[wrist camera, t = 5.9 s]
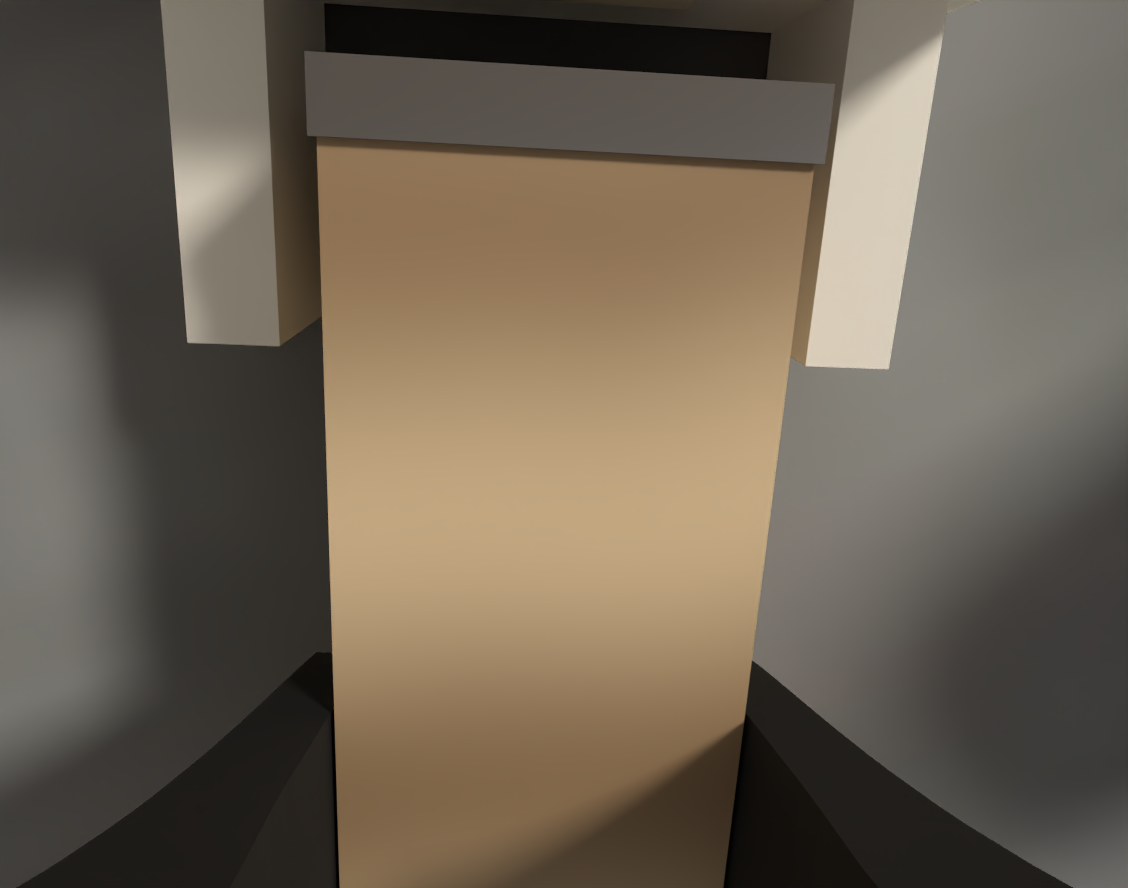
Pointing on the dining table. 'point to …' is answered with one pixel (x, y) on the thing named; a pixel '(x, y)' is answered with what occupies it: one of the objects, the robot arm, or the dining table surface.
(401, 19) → the dining table surface
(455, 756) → the rail
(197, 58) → the post
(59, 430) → the dining table surface
